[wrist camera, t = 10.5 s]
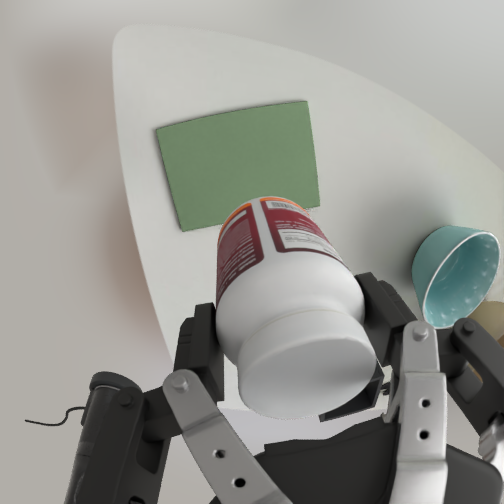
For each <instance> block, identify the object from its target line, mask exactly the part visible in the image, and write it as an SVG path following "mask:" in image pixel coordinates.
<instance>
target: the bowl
mask: <svg viewBox="0 0 504 504" xmlns="http://www.w3.org/2000/svg"><path fill="white" fill-rule="evenodd" d="M499 263H500V245H499V242H498V240H497V238H496V237H495V236H494V235H493V234H492V233H490V232H487V231H483V230H478V229H472V228H466V227H458V226H444V227H441V228H439V229H437V230H436V231H434V232H433V233H431V234H430V235H429V236H428V237H427V238H426V239H425V241H424V242H423V243H422V244H421V246H420V248H419V249H418V251H417V253H416V255H415V258H414V261H413V265H412V280H413V284H414V287H415V291H416V295H417V298H418V302H419V305H420V308H421V312H422V315H423V318H424V320H425V322H428V323H429V324H431V325H432V326H433V327H434V328H435V329H444V328H448V327H451V326H453V325H454V323H455V322H456V321H457V320H458V319H460V318H466V317H467V316H468V315H470V314H471V313H472V312H473V311H474V310H475V309H476V308H477V307H478V306H479V304H480V303H481V302H482V301H483V299H484V298H485V296H486V295H487V293H488V292H489V290H490V288H491V286H492V284H493V282H494V280H495V277H496V275H497V271H498V268H499Z"/></svg>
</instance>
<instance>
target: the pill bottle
mask: <svg viewBox="0 0 504 504" xmlns="http://www.w3.org/2000/svg"><path fill="white" fill-rule="evenodd" d="M364 319H365V300H364V296H363V293H362V290H361V288H360V286H359V284H358V282H357V281H356V279H355V278H354V276H353V275H352V273H351V272H350V270H349V269H348V267H347V266H346V265H345V263H344V262H343V260H342V259H341V258H340V256H339V255H338V253H337V252H336V251H335V249H334V248H333V246H332V245H331V244H330V242H329V241H328V240H327V238H326V237H325V236H324V234H323V233H322V231H321V230H320V229H319V227H318V226H317V225H316V223H315V222H314V221H313V219H312V218H311V217H310V215H309V214H308V213H307V212H306V211H305V210H304V209H303V208H301V207H300V206H299V205H298V204H296V203H294V202H292V201H290V200H288V199H285V198H281V197H275V196H266V197H259V198H255V199H252V200H249V201H247V202H245V203H243V204H242V205H240V206H239V207H237V208H236V209H235V210H234V211H233V212H232V213H231V214H230V215H229V216H228V217H227V219H226V220H225V222H224V223H223V225H222V228H221V230H220V233H219V238H218V245H217V285H216V334H217V339H218V342H219V344H220V347H221V349H222V351H223V352H224V354H225V355H226V357H227V358H228V359H229V360H230V361H231V362H232V363H233V364H234V365H235V366H236V367H237V370H238V389H239V395H240V397H241V399H242V401H243V402H244V404H245V405H246V406H247V407H248V408H249V409H251V410H252V411H254V412H256V413H258V414H260V415H263V416H266V417H270V418H275V419H301V418H307V417H312V416H316V415H320V414H323V413H326V412H328V411H331V410H333V409H335V408H337V407H339V406H341V405H343V404H345V403H346V402H348V401H349V400H351V399H352V398H354V397H355V396H356V395H357V394H359V393H360V392H361V391H362V390H363V389H364V388H365V386H366V385H367V384H368V383H369V381H370V380H371V378H372V376H373V374H374V372H375V368H376V355H375V351H374V349H373V347H372V345H371V343H370V341H369V339H368V337H367V335H366V333H365V331H364V329H363V323H364Z"/></svg>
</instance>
